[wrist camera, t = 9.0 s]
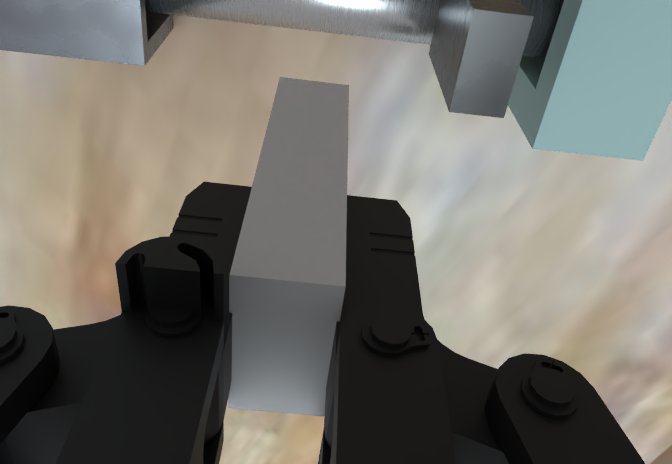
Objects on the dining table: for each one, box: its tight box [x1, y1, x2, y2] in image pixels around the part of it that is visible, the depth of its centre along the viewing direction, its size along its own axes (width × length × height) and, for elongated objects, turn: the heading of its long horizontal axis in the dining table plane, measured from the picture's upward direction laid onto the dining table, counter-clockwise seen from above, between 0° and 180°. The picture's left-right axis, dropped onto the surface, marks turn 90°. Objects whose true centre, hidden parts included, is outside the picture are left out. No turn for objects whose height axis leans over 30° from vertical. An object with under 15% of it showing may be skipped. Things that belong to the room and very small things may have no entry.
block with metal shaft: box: [145, 0, 564, 118], centre depth 24 cm, size 22×4×10 cm, turn 84°
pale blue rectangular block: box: [508, 0, 672, 161], centre depth 26 cm, size 5×9×7 cm, turn 174°
